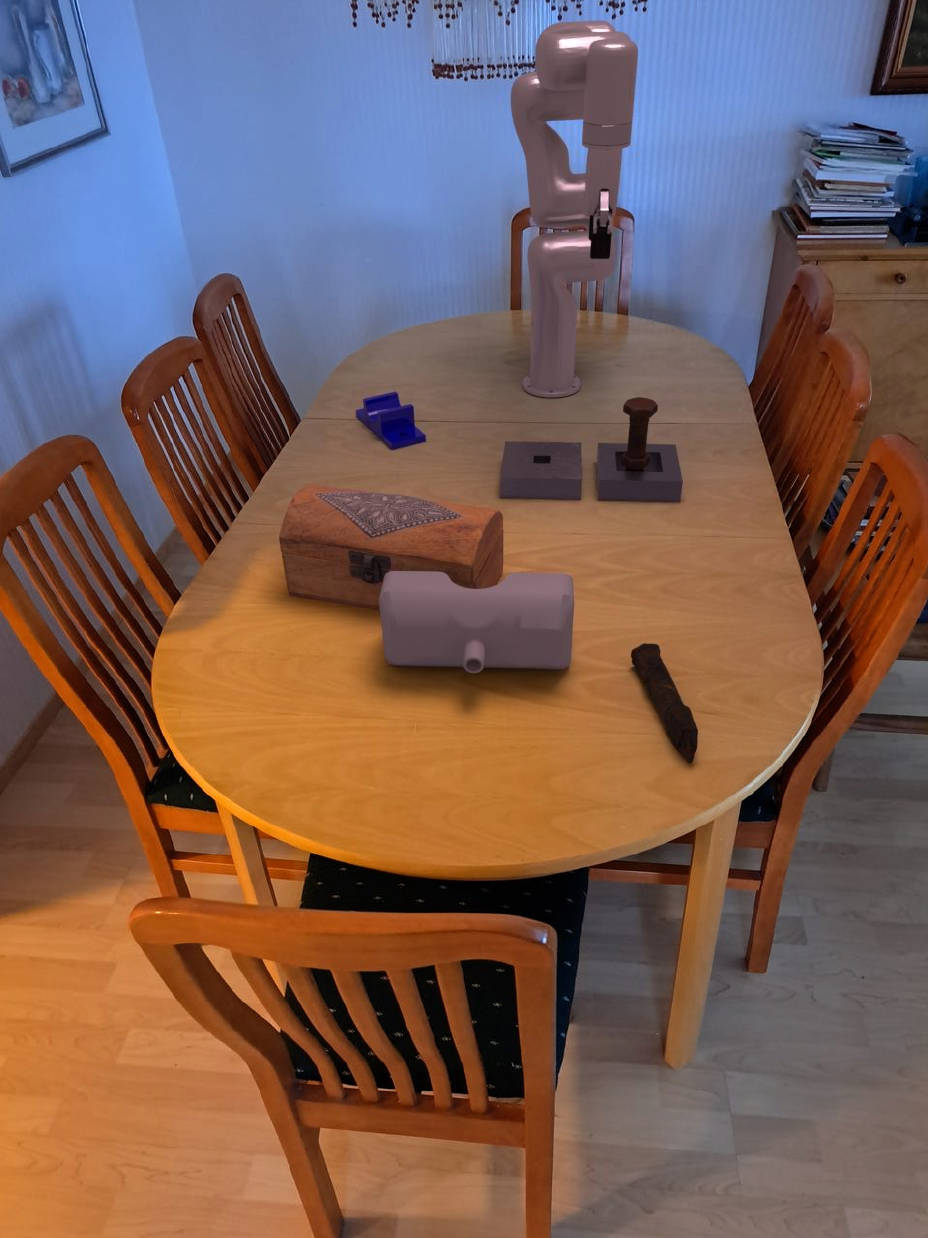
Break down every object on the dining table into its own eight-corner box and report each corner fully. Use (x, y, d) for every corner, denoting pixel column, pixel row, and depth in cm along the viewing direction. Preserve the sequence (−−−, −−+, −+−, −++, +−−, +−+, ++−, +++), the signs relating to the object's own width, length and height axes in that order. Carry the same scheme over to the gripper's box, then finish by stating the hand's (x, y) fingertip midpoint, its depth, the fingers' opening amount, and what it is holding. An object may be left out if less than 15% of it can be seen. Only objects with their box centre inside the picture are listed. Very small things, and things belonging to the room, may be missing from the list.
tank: (378, 700, 117) (369, 623, 109) (394, 624, 129) (387, 551, 122) (571, 704, 115) (576, 627, 107) (568, 628, 128) (572, 554, 120)
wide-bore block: (596, 462, 167) (597, 442, 165) (672, 464, 166) (675, 444, 163) (598, 500, 156) (599, 479, 154) (680, 502, 155) (682, 481, 152)
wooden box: (282, 600, 135) (268, 520, 127) (329, 543, 148) (319, 467, 139) (472, 634, 127) (470, 552, 119) (505, 571, 140) (505, 493, 131)
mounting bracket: (356, 418, 186) (353, 390, 183) (388, 410, 189) (385, 383, 185) (392, 452, 174) (390, 423, 170) (426, 443, 176) (424, 414, 173)
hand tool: (628, 665, 121) (631, 638, 118) (657, 662, 121) (661, 636, 118) (667, 769, 106) (671, 741, 103) (701, 765, 106) (705, 737, 103)
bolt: (648, 475, 163) (656, 396, 154) (651, 488, 159) (660, 409, 150) (615, 475, 163) (622, 397, 154) (618, 488, 159) (624, 409, 150)
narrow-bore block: (505, 460, 169) (505, 441, 166) (580, 462, 167) (581, 442, 165) (500, 497, 158) (500, 477, 155) (580, 499, 156) (581, 479, 154)
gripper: (581, 122, 146) (575, 233, 156) (583, 146, 132) (576, 265, 143) (628, 122, 145) (618, 233, 156) (634, 146, 132) (624, 265, 143)
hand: (598, 248), depth 149 cm, fingers open, 9 cm apart
